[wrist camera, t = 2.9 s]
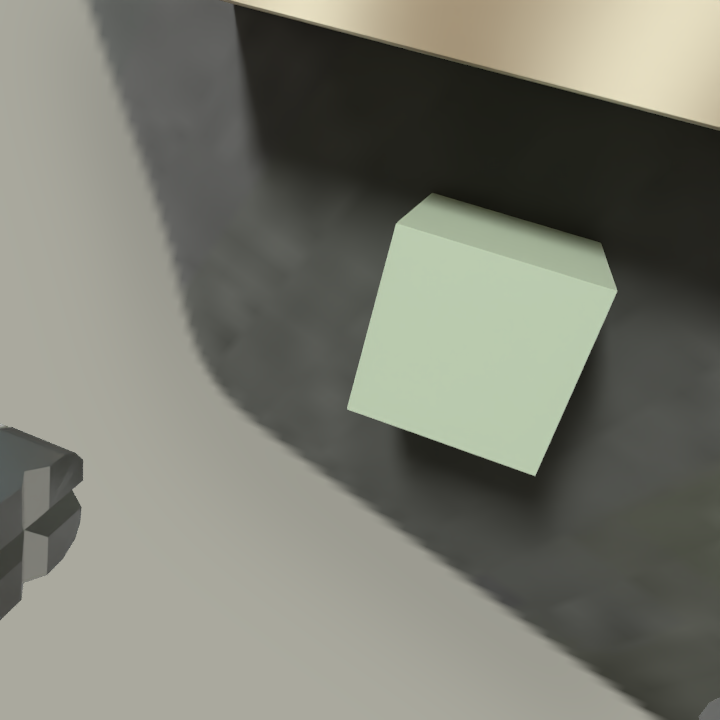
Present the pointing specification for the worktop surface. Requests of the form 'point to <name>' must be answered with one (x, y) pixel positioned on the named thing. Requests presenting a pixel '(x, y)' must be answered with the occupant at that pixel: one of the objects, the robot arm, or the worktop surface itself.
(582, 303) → the sage block
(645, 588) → the worktop surface
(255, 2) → the birch plinth
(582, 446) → the worktop surface
